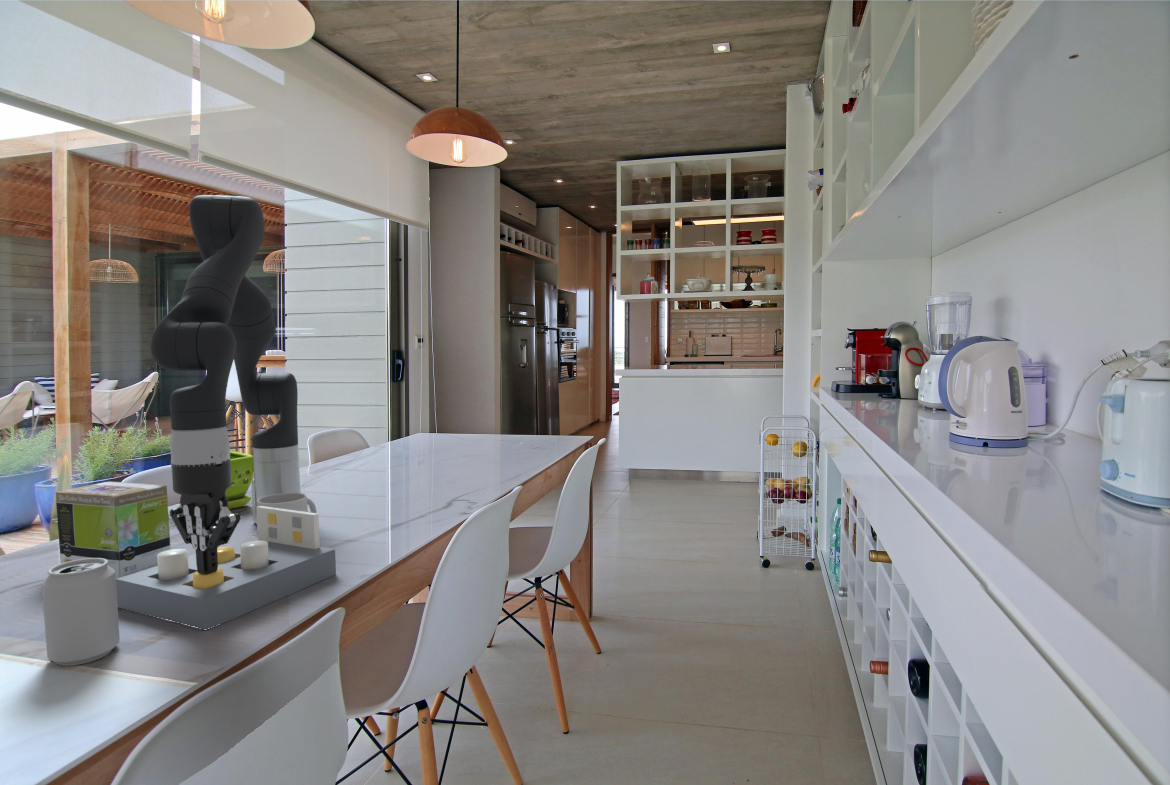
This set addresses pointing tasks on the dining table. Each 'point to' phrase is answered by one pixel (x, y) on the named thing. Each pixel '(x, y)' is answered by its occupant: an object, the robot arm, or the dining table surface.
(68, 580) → the can
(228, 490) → the flower pot
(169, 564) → the cream button
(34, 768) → the dining table surface
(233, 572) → the console
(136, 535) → the tea box
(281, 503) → the mug
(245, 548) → the cream button
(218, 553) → the amber button
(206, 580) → the amber button
